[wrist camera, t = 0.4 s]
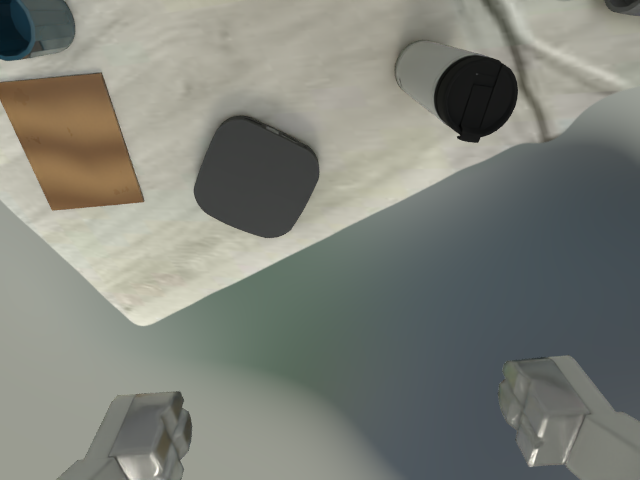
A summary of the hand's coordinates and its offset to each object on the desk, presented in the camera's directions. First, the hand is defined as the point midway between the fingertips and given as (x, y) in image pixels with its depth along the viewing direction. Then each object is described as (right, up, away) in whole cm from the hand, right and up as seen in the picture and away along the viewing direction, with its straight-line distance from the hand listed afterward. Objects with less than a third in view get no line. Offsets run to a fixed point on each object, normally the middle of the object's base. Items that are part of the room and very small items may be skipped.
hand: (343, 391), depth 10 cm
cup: (-32, +29, +35) cm, 55 cm away
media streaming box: (-9, +13, +46) cm, 48 cm away
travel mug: (+12, +25, +39) cm, 48 cm away
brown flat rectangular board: (-33, +16, +42) cm, 56 cm away
